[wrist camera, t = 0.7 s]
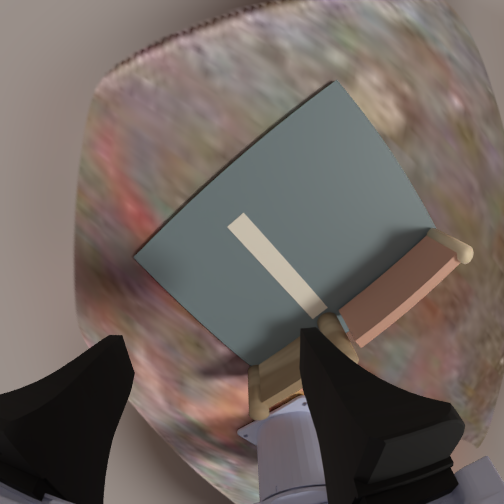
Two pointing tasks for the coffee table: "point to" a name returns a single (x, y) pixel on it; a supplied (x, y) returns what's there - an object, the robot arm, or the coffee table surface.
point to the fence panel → (403, 285)
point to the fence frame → (289, 369)
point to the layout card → (290, 229)
